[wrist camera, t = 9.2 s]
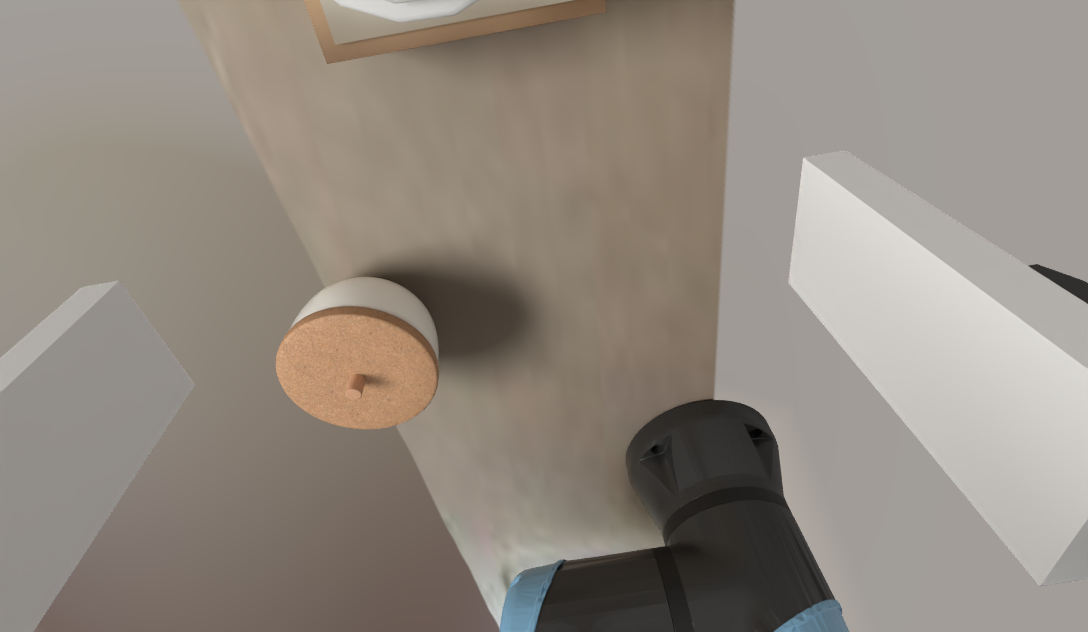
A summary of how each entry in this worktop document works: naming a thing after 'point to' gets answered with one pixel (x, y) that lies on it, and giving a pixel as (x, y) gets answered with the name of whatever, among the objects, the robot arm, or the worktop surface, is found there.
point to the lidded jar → (361, 355)
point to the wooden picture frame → (431, 25)
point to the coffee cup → (408, 8)
